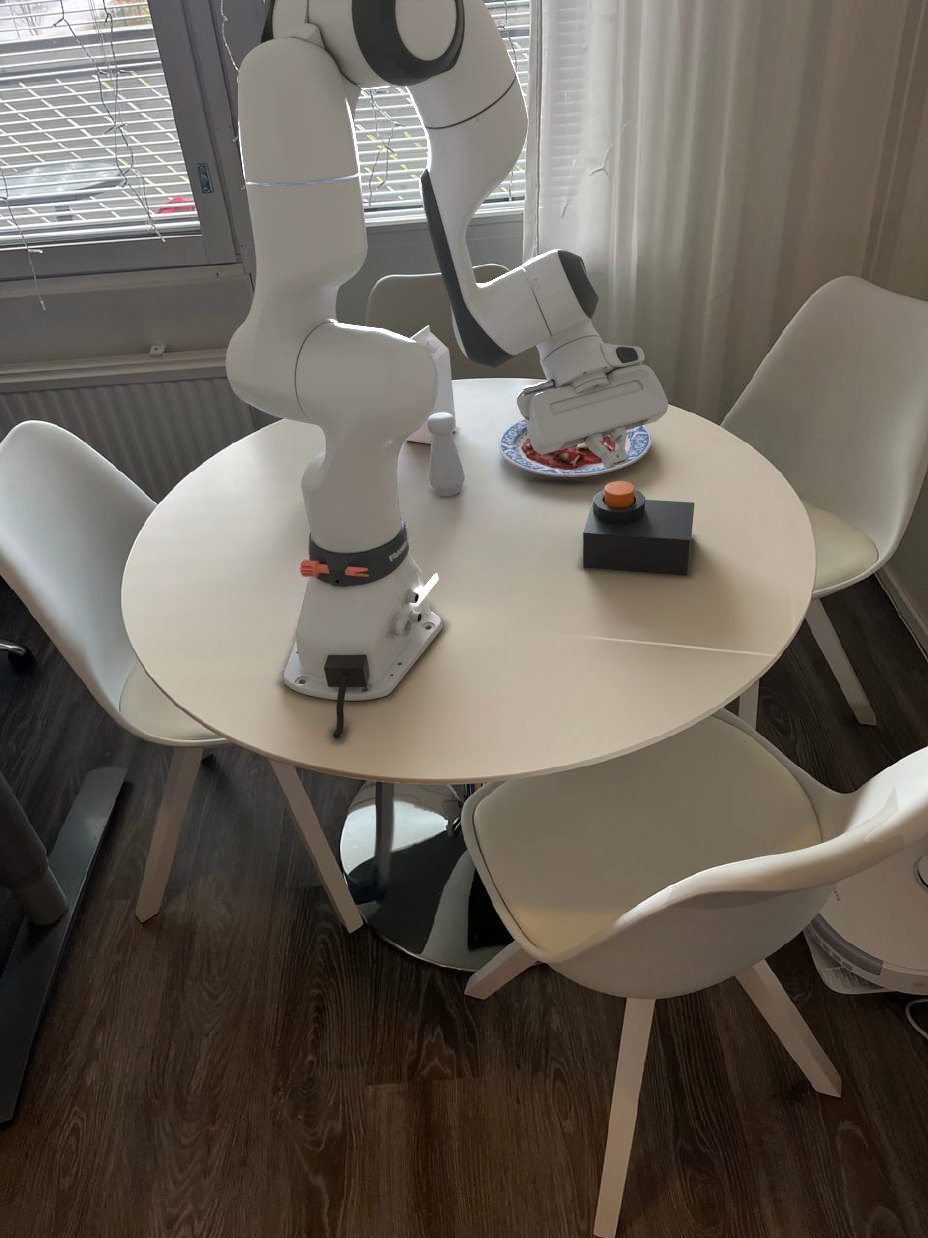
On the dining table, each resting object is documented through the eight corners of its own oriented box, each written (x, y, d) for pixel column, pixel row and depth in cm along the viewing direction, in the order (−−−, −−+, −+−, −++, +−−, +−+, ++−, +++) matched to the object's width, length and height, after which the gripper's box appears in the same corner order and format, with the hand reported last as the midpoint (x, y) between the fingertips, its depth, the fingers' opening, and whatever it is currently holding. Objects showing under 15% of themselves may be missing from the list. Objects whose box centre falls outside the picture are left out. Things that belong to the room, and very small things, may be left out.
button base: (691, 537, 125) (695, 490, 120) (687, 576, 117) (691, 528, 112) (593, 530, 128) (593, 485, 124) (583, 568, 121) (583, 521, 116)
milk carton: (404, 441, 158) (390, 337, 147) (422, 425, 163) (410, 323, 152) (439, 446, 155) (428, 340, 144) (456, 429, 160) (447, 326, 149)
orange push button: (635, 495, 121) (636, 481, 120) (632, 509, 118) (632, 495, 117) (606, 493, 122) (606, 480, 121) (602, 507, 119) (602, 493, 118)
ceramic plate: (553, 503, 136) (553, 486, 134) (472, 446, 154) (470, 430, 152) (683, 456, 145) (684, 440, 143) (591, 408, 163) (591, 392, 161)
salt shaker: (467, 481, 144) (461, 407, 136) (464, 498, 139) (457, 422, 131) (432, 482, 144) (424, 408, 137) (428, 499, 140) (419, 423, 132)
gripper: (519, 379, 113) (558, 476, 112) (651, 344, 119) (690, 436, 118) (505, 400, 119) (542, 493, 118) (632, 366, 125) (668, 454, 124)
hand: (617, 464), depth 118 cm, fingers closed
